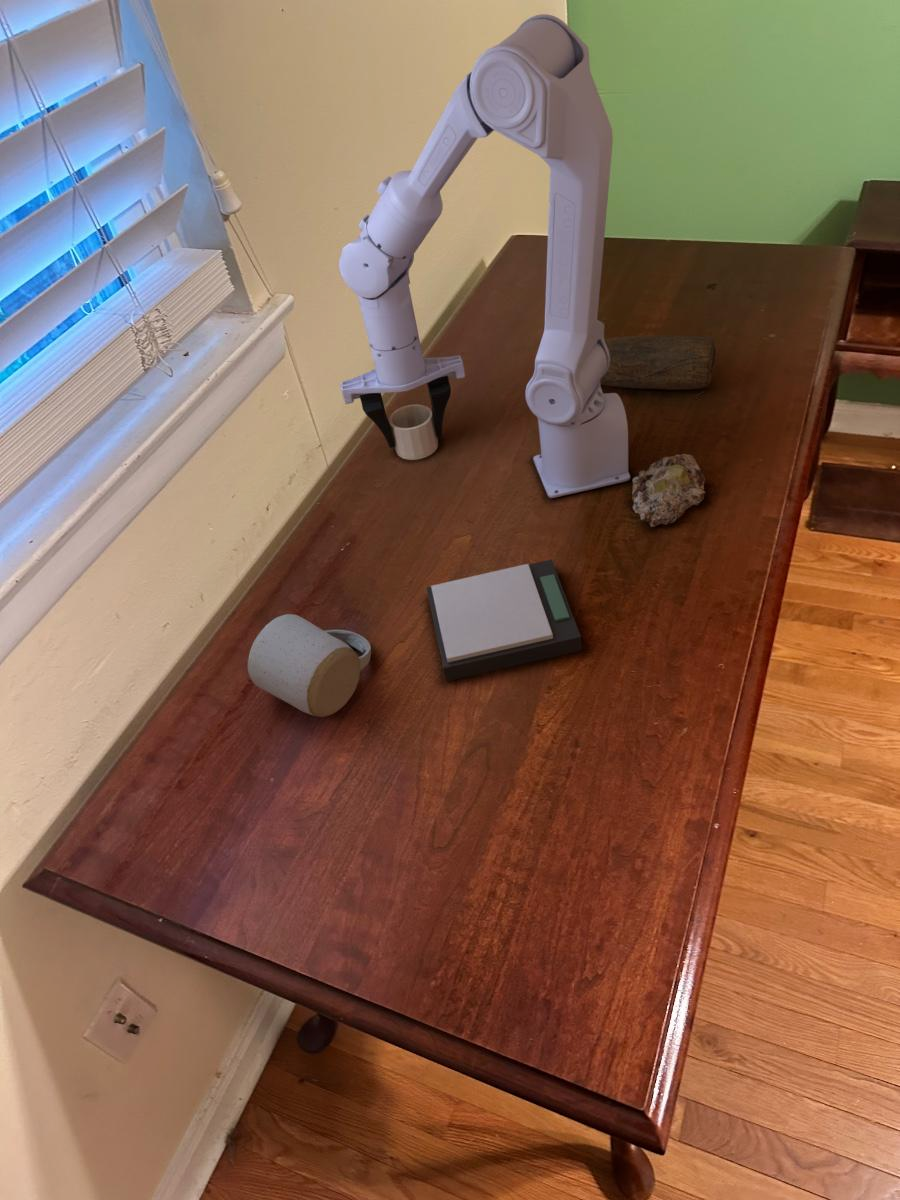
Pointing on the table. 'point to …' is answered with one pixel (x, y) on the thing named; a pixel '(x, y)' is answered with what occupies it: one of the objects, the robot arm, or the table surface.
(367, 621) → the table surface
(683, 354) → the wooden log
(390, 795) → the table surface
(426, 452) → the cream cup
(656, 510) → the mineral rock
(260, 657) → the ceramic mug
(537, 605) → the scale
